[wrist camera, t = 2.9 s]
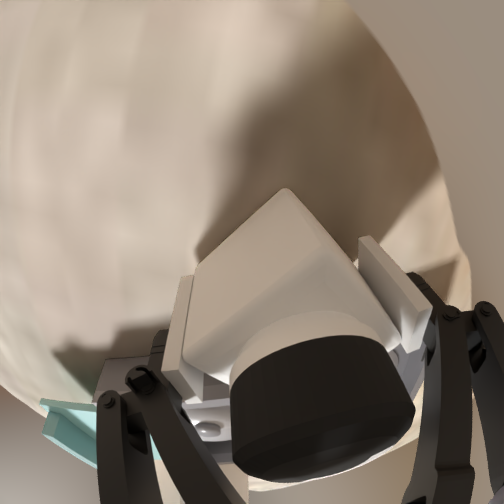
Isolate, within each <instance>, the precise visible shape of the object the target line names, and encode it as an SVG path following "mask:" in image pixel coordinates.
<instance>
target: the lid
mask: <svg viewBox="0 0 504 504" xmlns="http://www.w3.org/2000/svg"><path fill="white" fill-rule="evenodd" d="M39 405H41V406H42V407H43V408H44V409H45V410H46V411H47V412H49V413H48V415H47V418H46V422H45V425H44V428H43V431H42V434H43V435H44V436H45V437H47V438H48V439H50V440H51V441H52V442H54V443H55V444H57V445H58V446H60V447H61V448H63V449H64V450H66V451H67V452H69V453H70V454H72V455H74V456H75V457H77V458H79V459H80V460H82V461H84V462H85V463H87V464H89V465H91V466H92V467H95V468H96V469H97V455H96V410H97V407H96V406H95V405H94V404H82V403H72V402H64V401H56V400H49V399H43V398H41V400H40V403H39ZM150 438H151V444H152V451H153V457H154V460H162V459H161V457H160V455H159V453H158V451H157V448H156V446H155V444H154V442H153V439H152V437H151V435H150Z"/></svg>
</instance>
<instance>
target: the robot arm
mask: <svg viewBox="0 0 504 504" xmlns="http://www.w3.org/2000/svg"><path fill="white" fill-rule="evenodd" d="M358 271H359V272H360V274H361V275H362V277H363V278H364V279H365V281H366V282H367V284H368V285H369V287H370V288H371V290H372V291H373V293H374V294H375V296H376V297H377V299H378V300H379V302H380V303H381V305H382V306H383V308H384V309H385V311H386V312H387V314H388V315H389V317H390V319H391V320H392V322H393V323H394V325H395V327H396V328H397V330H398V331H399V333H400V335H401V342H400V343H401V345H402V346H403V348H404V350H405V351H406V353H407V354H408V353H410V352H412V351H415V350H417V349H420V347H421V344H422V341H423V342H424V343H425V345H426V348H425V351H424V353H423V356H422V359H421V361H423V360H424V358H425V368H424V393H423V407H422V417H421V426H420V434H419V441H418V447H417V453H416V458H415V463H414V469H413V473H412V477H411V481H410V484H409V486H408V487H407V489H406V491H405V493H404V496H403V499H402V503H401V504H470V500H471V496H472V491H473V485H474V479H475V471H474V468H473V467H472V466H471V465H470V453H471V438H472V389H473V392H474V396H475V399H476V403H477V407H478V411H479V416H480V420H481V424H482V429H483V435H484V440H485V446H486V452H487V460H488V469H489V476H490V482H491V487H492V490H493V493H494V497H493V499H491V500H490V502H489V503H488V504H504V322H503V321H502V319H501V317H500V315H499V313H498V311H497V310H496V308H495V307H494V306H493V305H492V304H491V303H489V302H486V301H481V302H479V303H477V304H476V305H475V308H474V310H472V311H464V312H461V311H460V310H459V309H458V308H456V307H454V306H450V305H445V303H444V302H443V301H442V300H441V299H440V298H439V296H438V295H437V294H436V293H435V292H434V291H433V290H432V288H430V286H429V285H428V284H426V282H425V281H424V279H423V278H422V277H421V276H419V275H418V274H416V273H414V272H410V273H407V274H405V273H404V272H403V270H402V269H401V268H400V267H399V266H398V265H397V264H396V263H395V262H394V260H393V259H392V258H391V257H390V256H389V255H388V254H387V253H386V252H385V251H384V250H383V249H382V247H381V246H380V245H379V244H378V243H377V242H376V241H375V240H374V239H373V238H372V237H371V236H370V235H368V236H364V237H359V238H358ZM193 280H194V275H190V276H186V277H181V280H180V284H179V288H178V292H177V296H176V301H175V305H174V310H173V314H172V319H171V323H170V328H169V329H167V330H160V331H159V332H158V333H157V335H156V336H155V338H154V340H153V344H152V348H151V354H150V357H149V361H148V365H138V366H135V367H133V368H132V369H130V370H129V372H128V373H127V374H126V377H125V384H126V385H127V386H128V387H129V388H130V389H131V390H132V391H130V392H127V393H124V394H121V395H120V394H119V393H118V392H117V391H114V390H108V391H105V392H104V393H102V394H101V395H100V397H99V398H98V401H97V410H96V455H97V473H98V485H99V494H100V503H101V504H163V501H162V497H161V492H160V488H159V483H158V478H157V473H156V468H155V463H154V457H153V451H152V444H151V438H150V435H151V437H152V439H153V442H154V444H155V446H156V448H157V451H158V453H159V455H160V457H161V459H162V461H163V463H164V465H165V467H166V469H167V471H168V473H169V475H170V477H171V479H172V481H173V483H174V485H175V487H176V488H177V490H178V492H179V494H180V496H181V497H182V499H183V501H184V502H185V504H246V502H245V501H244V500H243V499H242V497H241V496H240V495H239V493H238V492H237V491H236V489H235V488H234V487H233V485H232V484H231V483H230V481H229V480H228V478H227V477H226V476H225V474H224V473H223V471H222V470H221V468H220V467H219V465H218V464H217V462H216V461H215V459H214V458H213V456H212V455H211V453H210V452H209V450H208V449H207V447H206V445H205V444H204V442H203V441H202V439H201V437H200V436H199V434H198V432H197V431H196V429H195V427H194V426H193V424H192V422H191V420H190V419H189V417H188V415H187V413H186V411H185V410H184V409H183V407H182V399H183V400H184V401H185V402H186V404H197V403H203V380H204V372H203V371H201V370H199V369H197V368H195V367H193V366H192V365H190V364H188V363H187V362H185V361H184V360H183V356H182V350H183V343H184V336H185V329H186V323H187V316H188V310H189V304H190V298H191V292H192V286H193Z"/></svg>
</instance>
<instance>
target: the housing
mask: <svg viewBox="0 0 504 504" xmlns="http://www.w3.org/2000/svg"><path fill="white" fill-rule="evenodd" d="M425 348H426V345H425V343H424V342H423V341H422V344H421V347H420V349H417V350H415V351H412V352H410V353H408V354H407V353H406V351H405V350H404V348H403V346H402V345H401V343H400V344H399V345H398V346H396V347H395V348H394V349H392V350H391V351H389V352H388V354H389V356H390V358H391V359H392V361H393V363H394V365H395V367H396V369H397V371H398V373H399V375H400V377H401V379H402V381H403V383H404V385H405V387H406V389H407V391H408V393H409V395H410V397H411V400H412V401H413V400H414V398H415V396H416V394H417V392H418V390H419V388H420V386H421V384H422V382H423V380H424V368H425V358H424V360H423V361H421V359H422V356H423V353H424V351H425ZM149 357H150V356H145V357H134V358H122V359H107V360H105V363H104V366H103V369H102V372H101V375H100V378H99V381H98V384H97V387H96V390H95V393H94V397H93V400H92V403H93V404H94V405H95V406H96V407H97V401H98V398H99V397H100V395H101V394H102V393H104V392H105V391H108V390H114V391H117V392H118V393H119V394H120V395H121V394H124V393H127V392H130V391H132V390H131V389H130V388H129V387H128V386H127V385H126V384H125V377H126V374H127V373H128V372H129V370H130V369H132V368H133V367H135V366H138V365H148V361H149ZM182 407H183V409H184V410H185V411H186V413H187V415H188V417H189V419H190V420H191V422H192V424H193V426H194V427H195V429H196V431H197V432H198V434H199V436H200V437H201V439H202V441H203V442H204V444H205V445H206V447H207V449H208V450H209V452H210V453H211V455H212V456H213V458H214V459H215V461H216V462H217V464H218V465H224V464H234V462H233V460H232V442H231V419H230V391H229V385H228V384H226V383H224V382H222V381H220V380H218V379H216V378H214V377H212V376H210V375H208V374H206V373H205V372H204V380H203V403H197V404H186V402H185V401H184V400H183V399H182Z"/></svg>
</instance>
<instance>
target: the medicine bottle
mask: <svg viewBox="0 0 504 504" xmlns="http://www.w3.org/2000/svg"><path fill="white" fill-rule="evenodd" d="M400 342H401V335H400V333H399V331H398V330H397V328H396V327H395V325H394V323H393V322H392V320H391V319H390V317H389V315H388V314H387V312H386V311H385V309H384V308H383V306H382V305H381V303H380V302H379V300H378V299H377V297H376V296H375V294H374V293H373V291H372V290H371V288H370V287H369V285H368V284H367V282H366V281H365V279H364V278H363V277H362V275H361V274H360V272H359V271H358V269H357V268H356V267H355V265H354V264H353V262H352V261H351V260H350V259H349V257H348V256H347V255H346V254H345V253H344V251H343V250H342V249H341V248H340V246H339V245H338V244H337V243H336V242H335V240H334V239H333V238H332V237H331V236H330V234H329V233H328V232H327V231H326V230H325V229H324V227H323V226H322V225H321V224H320V223H319V222H318V220H317V219H316V218H315V217H314V216H313V215H312V214H311V212H310V211H309V210H308V209H307V208H306V207H305V206H304V204H303V203H302V202H301V201H300V200H299V199H298V198H297V197H296V196H295V194H294V193H293V192H292V191H291V190H289V189H288V188H283V189H281V190H280V191H278V192H277V193H276V194H275V195H274V196H273V197H272V198H271V199H269V200H268V201H267V202H266V203H265V204H264V205H263V206H262V207H260V208H259V209H258V210H257V211H256V212H255V213H254V214H253V215H252V216H250V217H249V218H248V219H247V220H246V221H245V222H244V223H243V224H242V225H241V226H239V227H238V228H237V229H236V230H235V231H234V232H233V233H232V234H231V235H230V236H229V237H227V238H226V239H225V240H224V241H223V242H222V243H221V244H220V245H219V246H218V247H217V248H216V249H214V250H213V251H212V252H211V253H210V254H209V255H208V256H207V257H206V258H205V259H204V260H203V261H202V262H201V263H199V264H198V266H197V267H196V269H195V275H194V280H193V286H192V292H191V298H190V304H189V310H188V316H187V323H186V329H185V336H184V343H183V350H182V356H183V360H184V361H185V362H187V363H188V364H190V365H192V366H193V367H195V368H197V369H199V370H201V371H203V372H205V373H206V374H208V375H210V376H212V377H214V378H216V379H218V380H220V381H222V382H224V383H226V384H228V385H229V391H230V419H231V442H232V460H233V462H234V464H235V465H236V466H237V467H238V468H239V469H241V470H242V471H243V472H244V473H245V474H247V475H250V476H253V477H256V478H259V479H263V480H266V481H270V482H278V483H292V482H303V481H310V480H316V479H321V478H325V477H329V476H333V475H337V474H340V473H343V472H346V471H349V470H352V469H354V468H357V467H359V466H362V465H364V464H366V463H368V462H370V461H372V460H374V459H376V458H378V457H379V456H381V455H383V454H384V453H386V452H387V451H389V450H390V449H391V448H392V447H393V446H394V445H395V444H396V443H397V442H398V441H399V440H400V439H401V438H402V437H403V436H404V434H405V433H406V432H407V431H408V430H409V428H410V427H411V425H412V422H413V418H414V415H415V411H416V410H415V406H414V404H413V402H412V400H411V397H410V395H409V393H408V391H407V389H406V387H405V385H404V383H403V381H402V379H401V377H400V375H399V373H398V371H397V369H396V367H395V365H394V363H393V361H392V359H391V358H390V356H389V354H388V352H389V351H391V350H392V349H394V348H395V347H396V346H398V345H399V344H400Z"/></svg>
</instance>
